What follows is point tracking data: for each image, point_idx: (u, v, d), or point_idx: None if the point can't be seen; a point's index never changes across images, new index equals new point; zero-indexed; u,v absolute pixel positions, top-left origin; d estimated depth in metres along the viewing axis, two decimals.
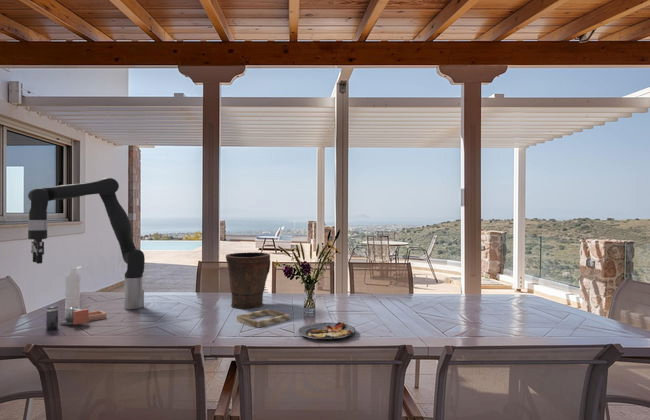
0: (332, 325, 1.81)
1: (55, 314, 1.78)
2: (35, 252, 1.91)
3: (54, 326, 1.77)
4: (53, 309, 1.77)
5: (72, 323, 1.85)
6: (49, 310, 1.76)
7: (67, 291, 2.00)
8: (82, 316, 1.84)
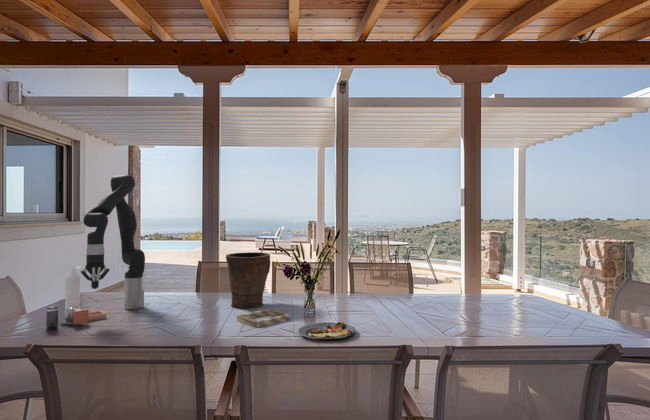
0: (332, 325, 1.81)
1: (55, 314, 1.78)
2: None
3: (54, 326, 1.77)
4: (53, 309, 1.77)
5: (72, 323, 1.85)
6: (49, 310, 1.76)
7: (67, 291, 2.00)
8: (82, 316, 1.84)
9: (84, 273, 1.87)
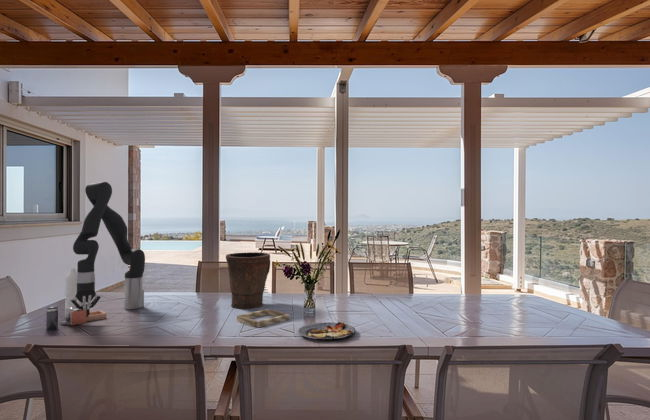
0: (332, 325, 1.81)
1: (55, 314, 1.78)
2: None
3: (54, 326, 1.77)
4: (53, 309, 1.77)
5: None
6: (49, 310, 1.76)
7: (67, 291, 2.00)
8: (80, 316, 1.83)
9: (74, 302, 1.83)
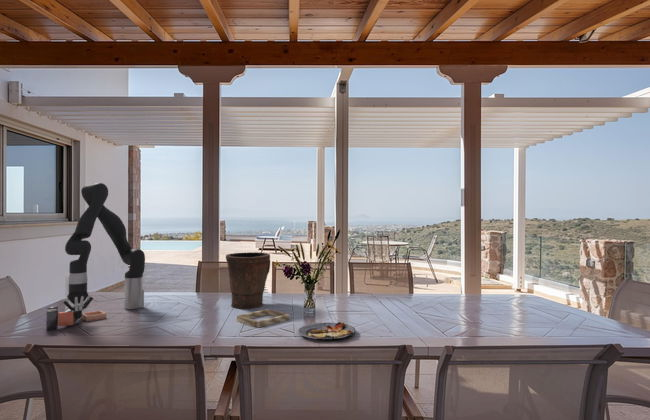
0: (332, 325, 1.81)
1: (55, 314, 1.78)
2: None
3: (54, 326, 1.77)
4: (53, 309, 1.77)
5: None
6: (49, 310, 1.76)
7: (67, 291, 2.00)
8: (66, 318, 1.80)
9: (66, 303, 1.81)
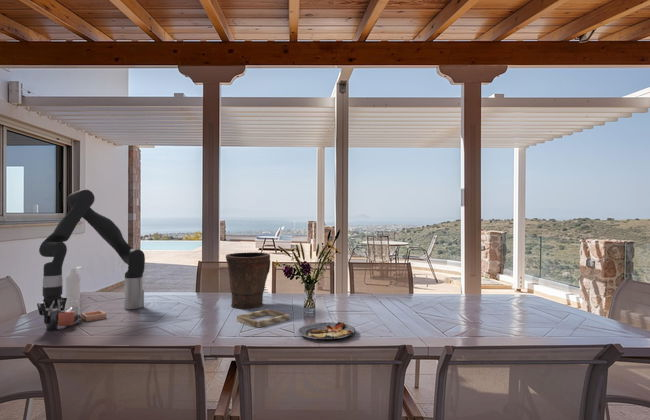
0: (332, 325, 1.81)
1: (55, 314, 1.78)
2: None
3: (54, 326, 1.77)
4: (53, 309, 1.77)
5: None
6: None
7: (67, 291, 2.00)
8: (66, 318, 1.80)
9: (43, 306, 1.72)
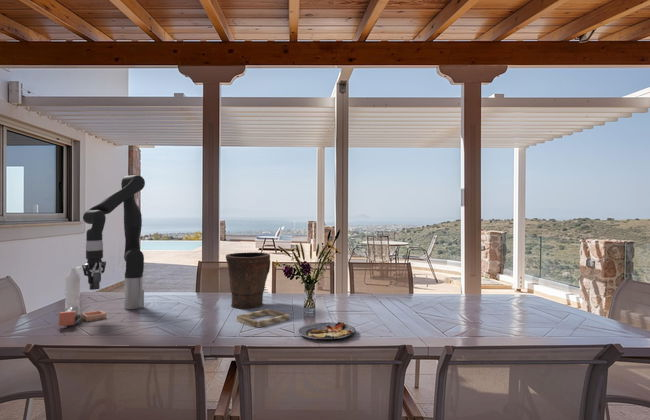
0: (332, 325, 1.81)
1: (98, 275, 1.97)
2: (90, 274, 1.95)
3: (97, 286, 1.97)
4: (95, 270, 1.96)
5: None
6: None
7: (67, 291, 2.00)
8: (67, 318, 1.80)
9: (87, 267, 1.92)
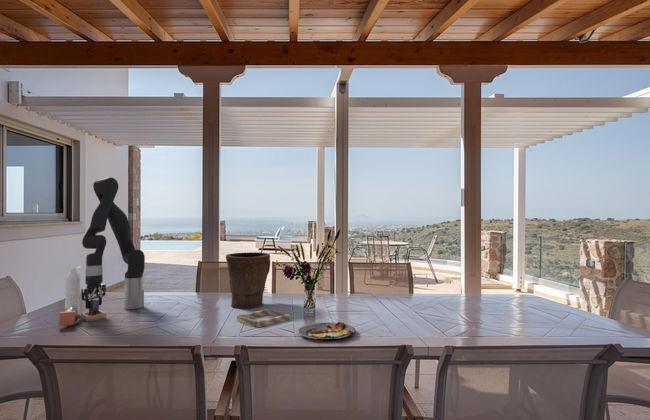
0: (332, 325, 1.81)
1: (97, 303, 1.97)
2: None
3: None
4: (95, 298, 1.96)
5: None
6: (91, 299, 1.95)
7: (67, 291, 2.00)
8: (67, 318, 1.80)
9: (86, 291, 1.91)
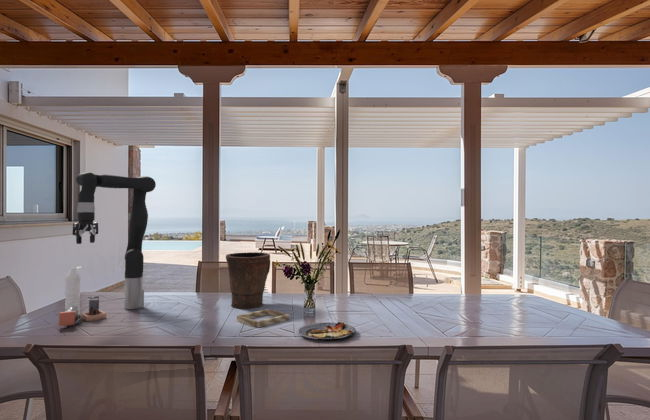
0: (332, 325, 1.81)
1: (97, 303, 1.97)
2: (79, 234, 1.94)
3: None
4: (95, 298, 1.96)
5: None
6: (91, 299, 1.95)
7: (67, 291, 2.00)
8: (67, 318, 1.80)
9: (78, 226, 1.92)
